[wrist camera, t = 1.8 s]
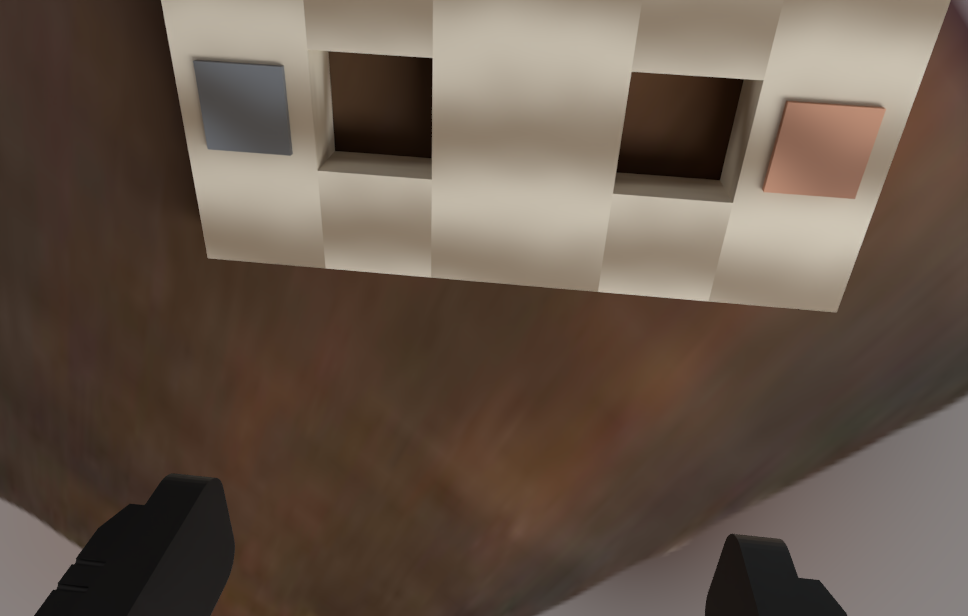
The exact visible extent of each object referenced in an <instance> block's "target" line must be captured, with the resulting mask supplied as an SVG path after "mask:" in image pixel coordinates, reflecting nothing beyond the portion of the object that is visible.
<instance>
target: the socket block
mask: <svg viewBox="0 0 968 616" xmlns="http://www.w3.org/2000/svg"><path fill="white" fill-rule="evenodd" d="M950 1H951V0H161V3H162V8H163V14H164V19H165V25H166V30H167V36H168V41H169V47H170V52H171V58H172V63H173V69H174V74H175V80H176V85H177V91H178V96H179V102H180V107H181V113H182V118H183V124H184V129H185V135H186V140H187V146H188V151H189V157H190V162H191V168H192V173H193V179H194V184H195V190H196V195H197V201H198V206H199V212H200V217H201V223H202V228H203V234H204V239H205V245H206V250H207V256H208V258H212V259H224V260H235V261H247V262H258V263H270V264H282V265H293V266H305V267H316V268H328V269H340V270H351V271H363V272H374V273H386V274H398V275H409V276H421V277H432V278H444V279H456V280H467V281H479V282H490V283H502V284H514V285H525V286H537V287H548V288H560V289H572V290H583V291H595V292H606V293H618V294H630V295H641V296H653V297H664V298H676V299H688V300H699V301H711V302H722V303H734V304H746V305H757V306H769V307H780V308H792V309H804V310H815V311H827V312H837V310H838V307H839V304H840V302H841V299H842V296H843V293H844V291H845V288H846V285H847V282H848V280H849V277H850V274H851V271H852V269H853V266H854V263H855V261H856V258H857V255H858V252H859V250H860V247H861V244H862V241H863V239H864V236H865V233H866V230H867V228H868V225H869V222H870V220H871V217H872V214H873V211H874V209H875V206H876V203H877V200H878V198H879V195H880V192H881V189H882V187H883V184H884V181H885V178H886V176H887V173H888V170H889V168H890V165H891V162H892V159H893V157H894V154H895V151H896V148H897V146H898V143H899V140H900V137H901V135H902V132H903V129H904V127H905V124H906V121H907V118H908V116H909V113H910V110H911V107H912V105H913V102H914V99H915V96H916V94H917V91H918V88H919V85H920V83H921V80H922V77H923V75H924V72H925V69H926V66H927V64H928V61H929V58H930V55H931V53H932V50H933V47H934V44H935V42H936V39H937V36H938V34H939V31H940V28H941V25H942V23H943V20H944V17H945V14H946V12H947V9H948V6H949V3H950ZM328 51H336V52H350V53H365V54H380V55H395V56H410V57H424V58H433V72H432V158H422V157H408V156H395V155H382V154H369V153H356V152H343V151H335V142H334V128H333V113H332V98H331V84H330V69H329V54H328ZM631 72H646V73H661V74H675V75H690V76H705V77H720V78H735V79H744V80H743V84H742V89H741V93H740V97H739V102H738V106H737V110H736V114H735V119H734V123H733V127H732V131H731V136H730V140H729V144H728V148H727V153H726V157H725V161H724V165H723V170H722V174H721V178H720V180H710V179H697V178H684V177H671V176H658V175H645V174H632V173H618V172H616V170H617V163H618V157H619V150H620V143H621V137H622V130H623V124H624V117H625V111H626V104H627V97H628V91H629V84H630V78H631Z"/></svg>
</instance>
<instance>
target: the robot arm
mask: <svg viewBox="0 0 968 616" xmlns="http://www.w3.org/2000/svg"><path fill="white" fill-rule="evenodd" d="M234 552H235V543H234V537H233V532H232V527H231V522H230V518H229V513H228V508H227V503H226V499H225V494H224V489H223V485H222V483H221V481H220V480H219V479H218V478H212V477H202V476H193V475H183V474H169V475H167V476H166V477H165V478H164V479H163V480H162V481H161V482H160V484H159V485H158V487H157V488H156V490H155V491H154V492H153V494H152V495H151V497H150V498H149V500H148V501H147V503H146V504H145V505H137V504H129V505H128V506H126V507H125V508H124V509H122V510H121V511H120V512H119V513H117V514H116V515H115V516H113V517H112V518H111V519H110V520H108V521H107V522H106V523H104V524H103V525H102V526H100V527H99V528H98V529H97V531H96V532H95V533H94V535H93V536H92V537H91V539H90V540H89V542H88V543H87V544H86V546H85V547H84V548H83V550H82V551H81V552H80V554H79V555H78V557H77V558H76V563H75V564H74V565H73V564H72V565H71V566H70V568H69V569H68V570H67V572H66V573H65V574H64V576H63V577H62V578H61V580H60V581H59V582H58V587H57V589H56V590H53V591H52V592H51V593H50V595H49V596H48V597H47V599H46V600H45V602H44V603H43V604H42V606H41V607H40V608H39V610H38V611H37V613H36V614H35V615H34V616H210V615H211V613H212V611H213V609H214V607H215V605H216V603H217V601H218V599H219V597H220V595H221V593H222V591H223V589H224V587H225V585H226V583H227V580H228V578H229V575H230V572H231V569H232V565H233V560H234ZM705 616H847V614H846V612H845V611H844V610H843V609H842V607H841V606H840V605H839V604H838V602H837V601H836V600H835V599H834V598H833V596H832V595H831V594H830V593H829V591H828V590H827V589H826V588H825V587H824V585H823V584H822V583H821V582H820V581H819V580H813V579H803V578H798V576H797V573H796V570H795V567H794V564H793V561H792V558H791V556H790V553H789V550H788V548H787V546H786V544H785V543H784V542H783V541H782V540H781V539H775V538H765V537H757V536H747V535H737V534H730V535H729V536H728V537H727V539H726V541H725V544H724V547H723V550H722V553H721V556H720V559H719V562H718V565H717V568H716V571H715V574H714V577H713V580H712V583H711V586H710V589H709V592H708V595H707V600H706V608H705Z"/></svg>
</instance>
